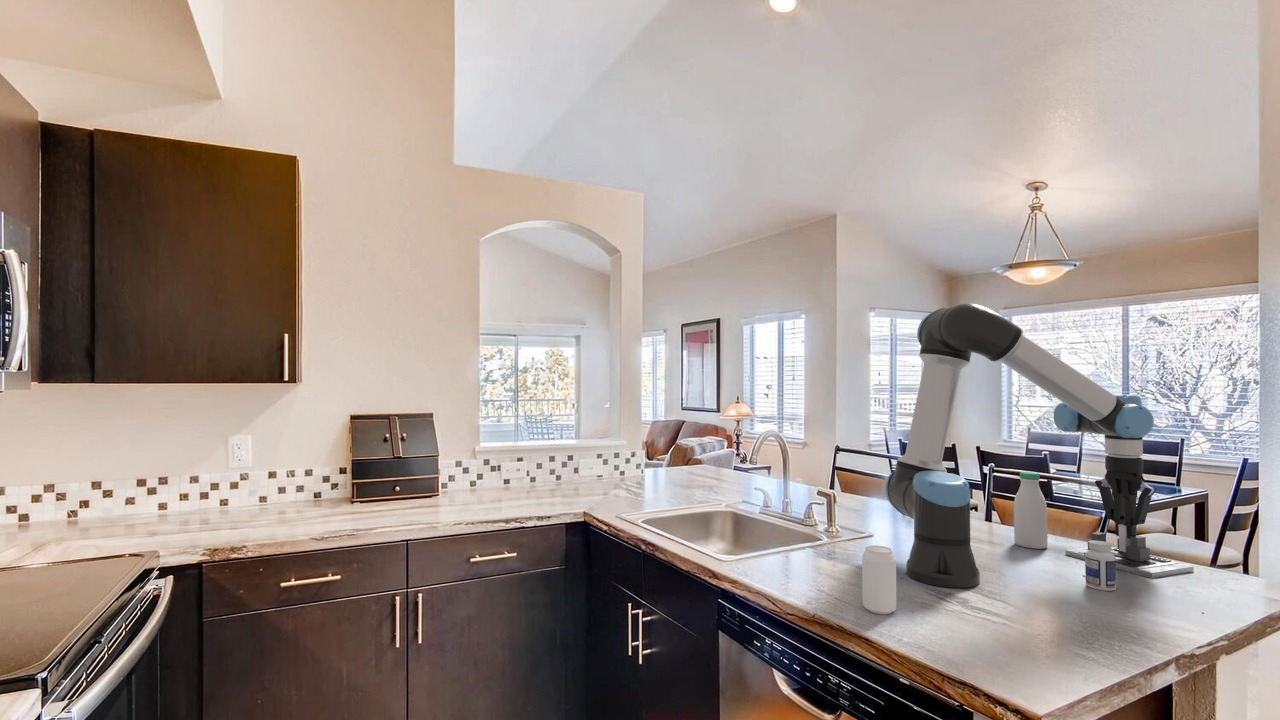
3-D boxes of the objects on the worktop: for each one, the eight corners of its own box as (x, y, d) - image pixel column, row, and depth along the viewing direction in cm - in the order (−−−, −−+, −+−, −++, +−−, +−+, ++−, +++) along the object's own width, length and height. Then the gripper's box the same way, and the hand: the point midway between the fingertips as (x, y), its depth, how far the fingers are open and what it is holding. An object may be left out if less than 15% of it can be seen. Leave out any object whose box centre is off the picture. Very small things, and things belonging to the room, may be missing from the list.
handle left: (1100, 557, 152) (1099, 535, 152) (1087, 554, 154) (1087, 532, 155) (1109, 556, 153) (1109, 534, 153) (1097, 552, 156) (1097, 531, 156)
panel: (1151, 578, 141) (1151, 571, 141) (1065, 554, 159) (1065, 548, 159) (1193, 571, 146) (1193, 565, 146) (1105, 549, 164) (1105, 543, 164)
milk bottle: (1052, 550, 163) (1051, 475, 164) (1021, 548, 165) (1019, 474, 166) (1040, 542, 171) (1038, 471, 172) (1009, 541, 173) (1008, 470, 173)
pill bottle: (1112, 585, 135) (1111, 541, 136) (1119, 593, 131) (1118, 547, 131) (1083, 582, 138) (1082, 538, 138) (1088, 589, 133) (1088, 544, 133)
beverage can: (894, 618, 116) (893, 554, 116) (860, 612, 119) (859, 550, 119) (898, 608, 121) (897, 547, 122) (865, 602, 124) (864, 542, 125)
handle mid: (1140, 561, 148) (1139, 539, 148) (1126, 558, 151) (1126, 536, 151) (1149, 560, 149) (1149, 537, 149) (1136, 556, 152) (1135, 534, 152)
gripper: (1163, 458, 149) (1165, 556, 148) (1106, 452, 161) (1108, 542, 160) (1142, 459, 146) (1145, 559, 145) (1086, 453, 158) (1088, 545, 158)
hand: (1125, 550), depth 153 cm, fingers closed
